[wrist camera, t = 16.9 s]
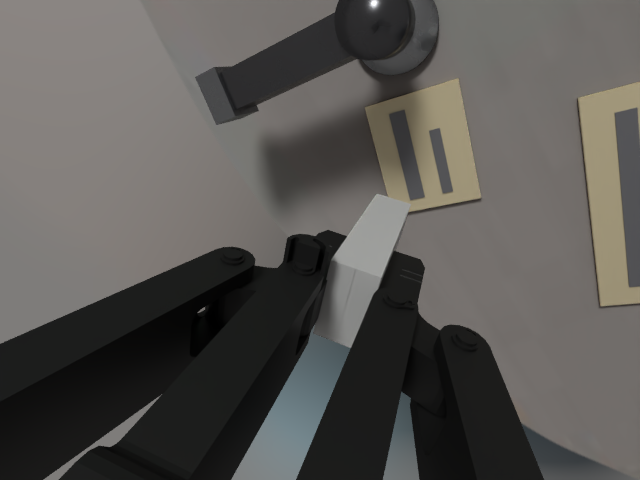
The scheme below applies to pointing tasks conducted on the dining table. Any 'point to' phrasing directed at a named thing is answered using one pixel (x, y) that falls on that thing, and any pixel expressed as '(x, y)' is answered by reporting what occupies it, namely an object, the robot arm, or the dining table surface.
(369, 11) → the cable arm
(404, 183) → the label card
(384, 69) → the grey mushroom knob
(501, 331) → the dining table surface
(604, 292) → the label card
